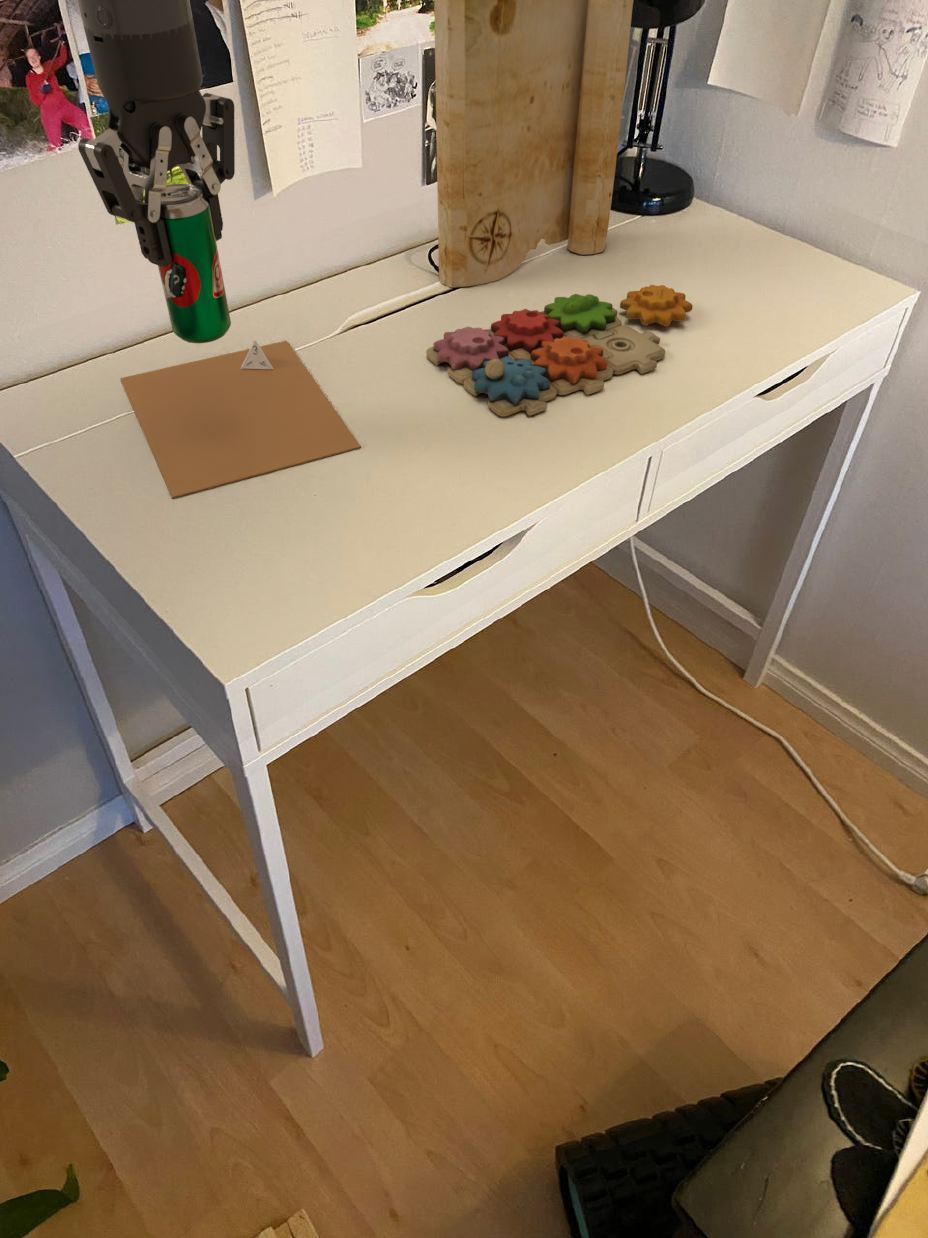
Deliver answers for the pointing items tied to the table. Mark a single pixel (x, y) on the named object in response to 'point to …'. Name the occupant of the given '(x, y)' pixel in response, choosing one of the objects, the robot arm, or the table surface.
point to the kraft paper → (234, 419)
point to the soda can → (192, 267)
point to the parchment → (525, 128)
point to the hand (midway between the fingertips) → (185, 249)
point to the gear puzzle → (557, 348)
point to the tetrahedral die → (256, 359)
